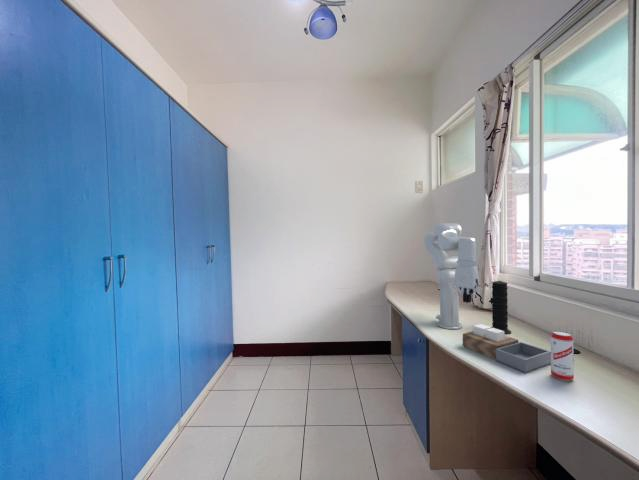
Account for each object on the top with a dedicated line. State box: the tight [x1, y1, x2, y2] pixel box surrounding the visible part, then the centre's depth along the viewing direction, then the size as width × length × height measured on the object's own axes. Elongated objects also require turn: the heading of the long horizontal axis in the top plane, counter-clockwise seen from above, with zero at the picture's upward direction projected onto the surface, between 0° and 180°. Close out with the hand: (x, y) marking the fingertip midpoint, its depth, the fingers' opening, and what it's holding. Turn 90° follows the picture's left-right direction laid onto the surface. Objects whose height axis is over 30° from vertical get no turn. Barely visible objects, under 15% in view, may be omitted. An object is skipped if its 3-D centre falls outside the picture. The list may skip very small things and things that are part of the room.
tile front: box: [486, 328, 505, 341], centre depth 124 cm, size 5×5×4 cm
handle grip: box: [490, 280, 512, 335], centre depth 149 cm, size 10×26×10 cm
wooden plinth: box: [462, 331, 519, 361], centre depth 126 cm, size 16×14×6 cm
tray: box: [495, 341, 551, 374], centre depth 114 cm, size 11×16×5 cm
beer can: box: [550, 330, 575, 382], centre depth 102 cm, size 6×6×16 cm
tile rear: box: [472, 323, 492, 337], centre depth 129 cm, size 5×5×4 cm
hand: (467, 301), depth 136 cm, fingers closed
